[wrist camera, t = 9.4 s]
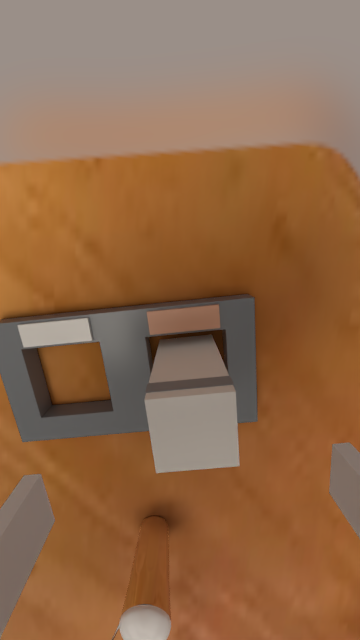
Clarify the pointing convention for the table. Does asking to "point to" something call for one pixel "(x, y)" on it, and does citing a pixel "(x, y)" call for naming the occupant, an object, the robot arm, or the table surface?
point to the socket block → (119, 362)
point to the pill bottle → (148, 586)
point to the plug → (191, 407)
